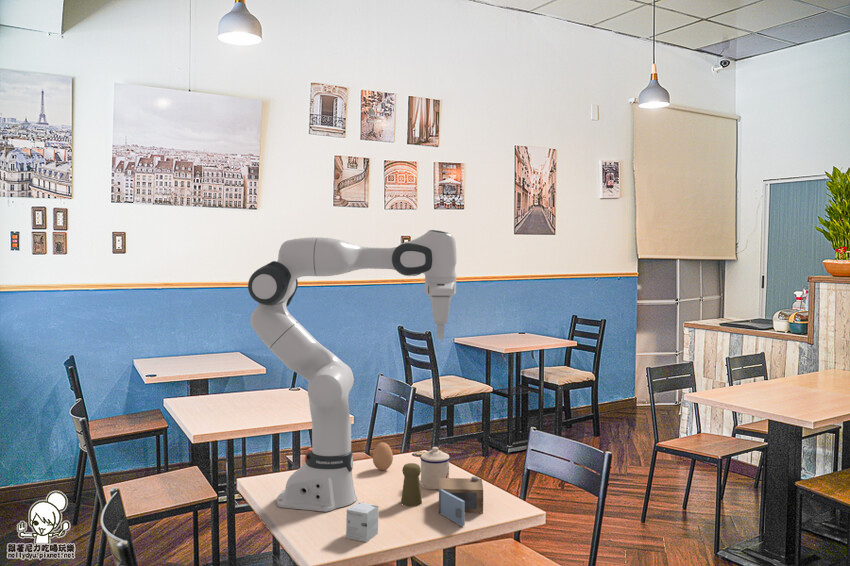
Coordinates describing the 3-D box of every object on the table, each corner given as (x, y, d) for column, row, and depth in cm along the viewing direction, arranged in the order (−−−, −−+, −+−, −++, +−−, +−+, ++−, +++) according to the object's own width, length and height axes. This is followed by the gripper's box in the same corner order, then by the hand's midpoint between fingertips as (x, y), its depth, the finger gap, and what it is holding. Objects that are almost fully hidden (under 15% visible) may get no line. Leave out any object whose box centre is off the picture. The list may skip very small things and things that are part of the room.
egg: (397, 470, 216) (397, 442, 216) (381, 474, 212) (381, 446, 211) (384, 465, 221) (384, 438, 221) (368, 469, 216) (368, 442, 216)
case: (439, 512, 180) (439, 486, 180) (439, 500, 190) (439, 475, 189) (483, 513, 180) (483, 487, 180) (481, 501, 189) (481, 475, 189)
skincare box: (345, 538, 164) (345, 509, 163) (358, 529, 169) (358, 501, 169) (367, 542, 161) (367, 513, 161) (378, 533, 167) (378, 504, 167)
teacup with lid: (453, 489, 199) (453, 450, 198) (423, 491, 197) (424, 452, 196) (443, 476, 210) (443, 440, 210) (415, 478, 208) (415, 441, 208)
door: (435, 513, 179) (435, 489, 179) (441, 511, 180) (441, 488, 180) (459, 527, 170) (459, 502, 170) (465, 525, 171) (465, 501, 171)
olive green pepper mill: (419, 507, 184) (419, 468, 184) (398, 505, 185) (398, 466, 185) (423, 499, 190) (424, 461, 190) (403, 497, 191) (403, 460, 191)
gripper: (429, 286, 196) (429, 332, 197) (429, 289, 176) (429, 341, 176) (450, 286, 196) (450, 332, 197) (452, 289, 176) (452, 341, 176)
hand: (440, 336), depth 186 cm, fingers open, 8 cm apart
